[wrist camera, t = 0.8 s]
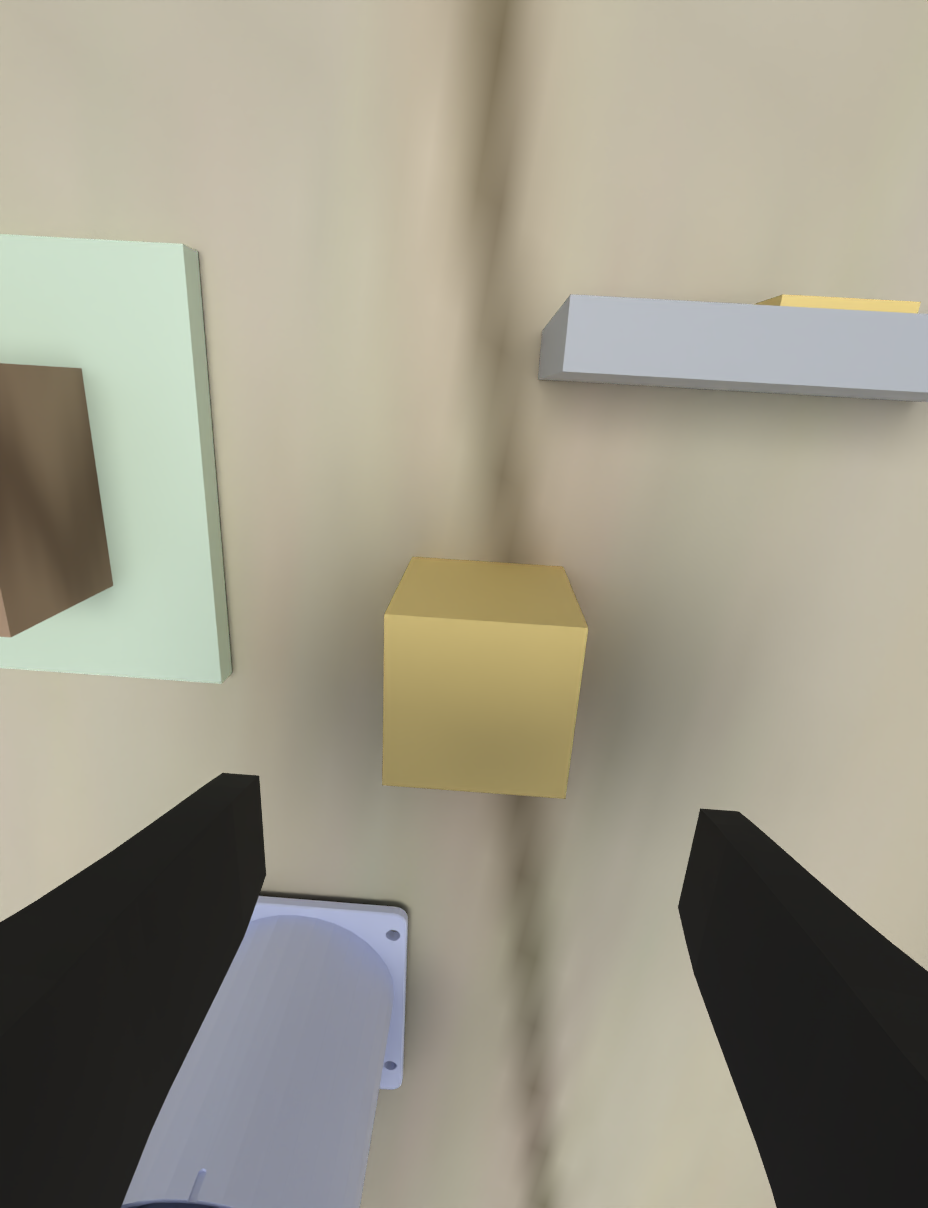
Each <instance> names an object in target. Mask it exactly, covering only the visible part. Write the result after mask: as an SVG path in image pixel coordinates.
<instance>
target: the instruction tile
mask: <svg viewBox="0 0 928 1208" xmlns="http://www.w3.org/2000/svg"><path fill="white" fill-rule="evenodd" d="M920 303H921V302H911V301H893V300H874V299H856V298H838V297H819V296H801V295H780V296H777V297H774V298H771V299H768V300H765V301H762V302H759V303H756V304H754V305H753V304H735V303H717V302H699V301H680V300H662V299H644V298H626V297H608V296H589V295H570V296H569V297H568V298H567V300H566V301H565V302H564V304H563V305H562V306H561V307H560V309H559V310H558V311H557V312H556V314H555V315H554V316H553V318H552V319H551V320H550V321H549V323H548V324H547V325H546V326H545V328H544V329H543V330H542V339H541V350H540V362H539V373H538V379H539V380H556V381H573V382H591V383H608V384H625V385H642V386H659V387H676V388H693V389H711V390H728V391H745V392H762V393H779V394H796V395H813V396H831V397H848V398H865V399H882V400H899V401H916V402H928V314H918V310H919V306H920Z"/></svg>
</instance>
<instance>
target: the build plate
mask: <svg viewBox="0 0 928 1208" xmlns="http://www.w3.org/2000/svg"><path fill="white" fill-rule="evenodd" d="M0 363H5V364H21V365H37V366H53V367H69V368H82V375H83V382H84V389H85V395H86V402H87V409H88V416H89V423H90V430H91V436H92V443H93V450H94V457H95V464H96V470H97V477H98V484H99V491H100V498H101V505H102V511H103V518H104V525H105V532H106V539H107V545H108V552H109V559H110V566H111V573H112V580H113V586H112V587H110V588H108V589H106V590H104V591H102V592H100V593H98V594H96V595H94V596H92V597H90V598H88V599H86V600H84V601H82V602H80V603H78V604H76V605H74V606H72V607H70V608H68V609H66V610H64V611H62V612H60V613H58V614H56V615H54V616H52V617H50V618H48V619H46V620H44V621H43V622H41V623H39V624H37V625H35V626H33V627H31V628H29V629H27V630H25V631H23V632H21V633H19V634H17V635H15V636H13V637H0V668H8V669H22V670H36V671H50V672H64V673H78V674H92V675H106V676H120V677H134V678H148V679H162V680H176V681H190V682H204V683H219V684H222V683H223V682H224V681H225V679H226V678H227V677H228V676H229V675H230V674H231V673H232V665H231V653H230V641H229V628H228V616H227V604H226V592H225V579H224V567H223V555H222V542H221V530H220V518H219V506H218V493H217V481H216V469H215V456H214V444H213V432H212V419H211V407H210V395H209V383H208V370H207V358H206V346H205V333H204V321H203V309H202V297H201V284H200V272H199V260H198V251H196V250H194V249H192V248H190V247H188V246H186V245H184V244H174V243H156V242H137V241H119V240H100V239H81V238H63V237H44V236H26V235H7V234H0Z"/></svg>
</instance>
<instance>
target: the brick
mask: <svg viewBox="0 0 928 1208" xmlns="http://www.w3.org/2000/svg"><path fill="white" fill-rule="evenodd" d="M587 634H588V626H587V624H586V621H585V619H584V616H583V614H582V612H581V609H580V607H579V604H578V602H577V599H576V597H575V595H574V592H573V590H572V587H571V585H570V582H569V580H568V577H567V575H566V573H565V570H564V568H563V567H560V566H545V565H530V564H515V563H500V562H484V561H469V560H454V559H439V558H423V557H412V559H411V561H410V563H409V565H408V567H407V569H406V571H405V573H404V575H403V577H402V579H401V581H400V583H399V585H398V587H397V589H396V591H395V593H394V595H393V597H392V600H391V602H390V604H389V606H388V608H387V610H386V612H385V614H384V684H383V768H382V785H387V786H401V787H414V788H427V789H441V790H454V791H468V792H481V793H495V794H508V795H521V796H535V797H548V798H562V799H565V797H566V790H567V782H568V775H569V767H570V760H571V753H572V745H573V738H574V730H575V723H576V715H577V708H578V701H579V693H580V686H581V678H582V671H583V663H584V656H585V649H586V641H587Z"/></svg>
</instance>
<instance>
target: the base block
mask: <svg viewBox="0 0 928 1208" xmlns="http://www.w3.org/2000/svg"><path fill="white" fill-rule="evenodd" d="M112 586H113V580H112V573H111V566H110V559H109V552H108V545H107V539H106V532H105V525H104V518H103V511H102V505H101V498H100V491H99V484H98V477H97V470H96V464H95V457H94V450H93V443H92V436H91V430H90V423H89V416H88V409H87V402H86V395H85V389H84V382H83V375H82V368H69V367H53V366H37V365H21V364H5V363H0V637H13V636H15V635H17V634H19V633H21V632H23V631H25V630H27V629H29V628H31V627H33V626H35V625H37V624H39V623H41V622H43V621H44V620H46V619H48V618H50V617H52V616H54V615H56V614H58V613H60V612H62V611H64V610H66V609H68V608H70V607H72V606H74V605H76V604H78V603H80V602H82V601H84V600H86V599H88V598H90V597H92V596H94V595H96V594H98V593H100V592H102V591H104V590H106V589H108V588H110V587H112Z"/></svg>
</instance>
